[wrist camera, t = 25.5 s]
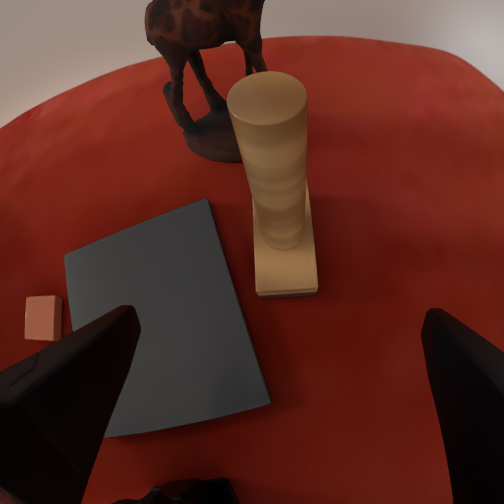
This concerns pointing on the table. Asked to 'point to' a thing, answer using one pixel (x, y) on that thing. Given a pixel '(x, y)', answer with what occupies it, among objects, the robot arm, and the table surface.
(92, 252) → the board
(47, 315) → the block
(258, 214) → the tan wooden tall post
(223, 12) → the statue
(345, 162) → the table surface
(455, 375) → the robot arm
